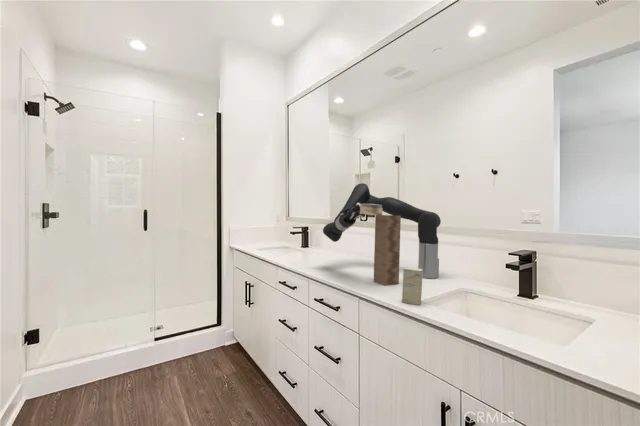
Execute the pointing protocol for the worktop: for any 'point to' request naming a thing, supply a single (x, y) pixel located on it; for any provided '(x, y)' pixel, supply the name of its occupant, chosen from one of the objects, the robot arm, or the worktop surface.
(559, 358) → the worktop surface
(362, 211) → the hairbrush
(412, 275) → the skincare box
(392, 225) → the walnut stand
